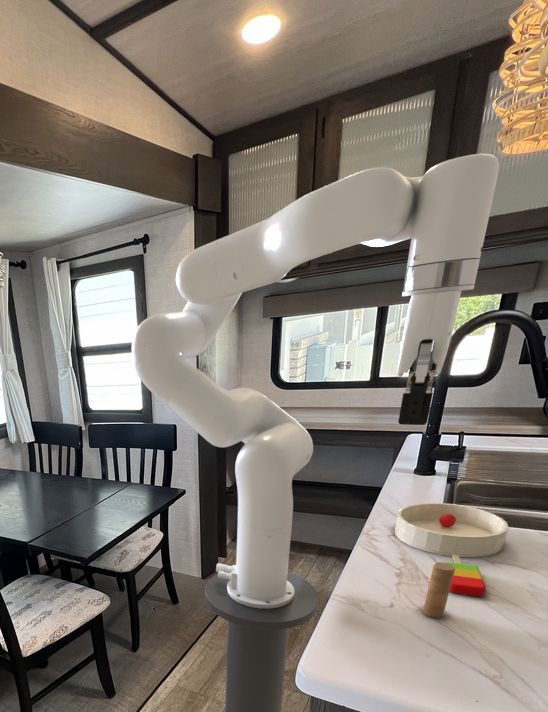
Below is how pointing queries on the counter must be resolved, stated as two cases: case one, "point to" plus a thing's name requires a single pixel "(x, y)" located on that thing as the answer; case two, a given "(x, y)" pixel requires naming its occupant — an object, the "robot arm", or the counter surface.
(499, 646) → the counter surface
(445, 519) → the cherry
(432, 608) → the brown cylinder
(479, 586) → the popsicle
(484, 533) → the bowl
